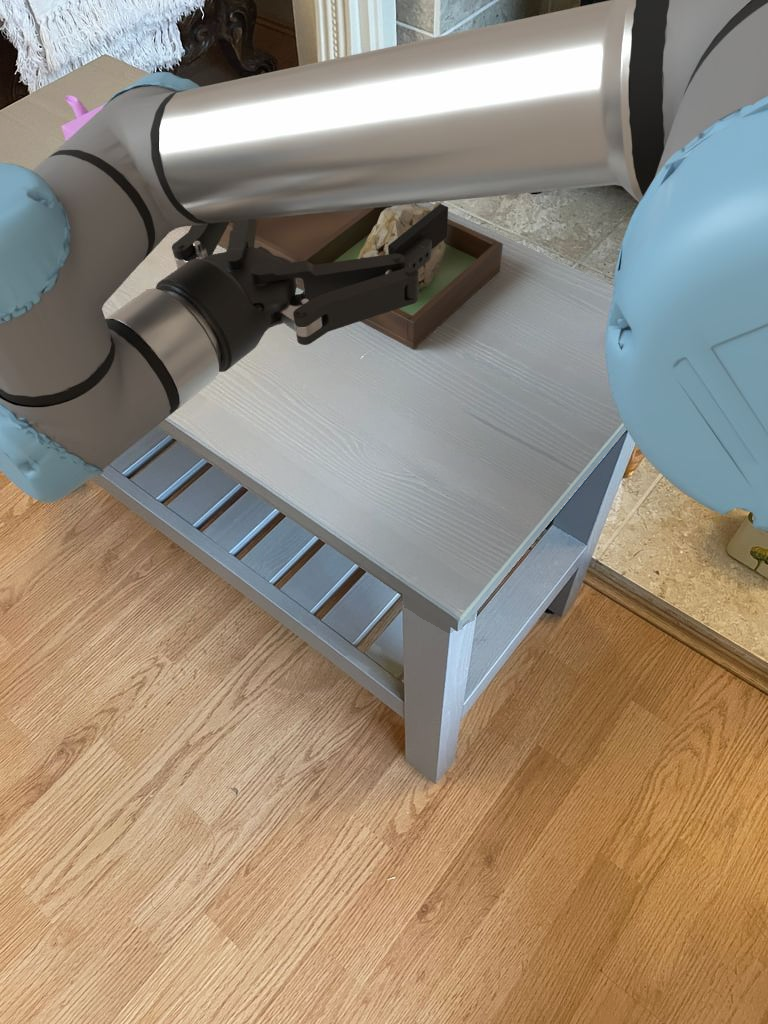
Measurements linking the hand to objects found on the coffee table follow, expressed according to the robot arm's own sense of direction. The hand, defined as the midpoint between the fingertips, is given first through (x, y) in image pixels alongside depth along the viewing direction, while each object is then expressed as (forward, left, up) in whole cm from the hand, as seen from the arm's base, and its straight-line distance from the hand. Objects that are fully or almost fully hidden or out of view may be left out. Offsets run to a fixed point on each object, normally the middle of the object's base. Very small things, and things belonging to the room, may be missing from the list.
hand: (377, 190), depth 66 cm
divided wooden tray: (+14, -17, -22) cm, 31 cm away
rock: (+5, -15, -21) cm, 26 cm away
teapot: (+44, -15, -22) cm, 52 cm away
